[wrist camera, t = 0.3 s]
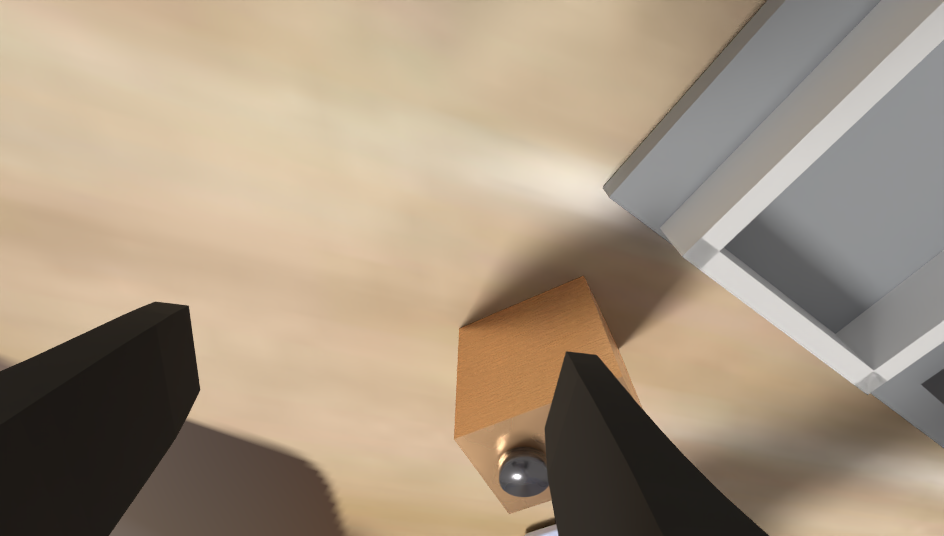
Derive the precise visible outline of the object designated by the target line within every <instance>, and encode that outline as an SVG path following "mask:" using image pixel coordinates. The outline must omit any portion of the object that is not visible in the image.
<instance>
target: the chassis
mask: <svg viewBox="0 0 944 536" xmlns="http://www.w3.org/2000/svg"><path fill="white" fill-rule="evenodd" d="M603 189H604V191H605V192H606V194H607V195H608V197H609V198H610V199H612V200H613V201H614V202H616V203H617V204H618V205H620V206H621V207H622V208H624V209H625V210H626V211H628V212H629V213H630V214H632V215H633V216H634V217H636V218H637V219H638V220H640V221H641V222H642V223H644V224H645V225H646V226H648V227H649V228H650V229H652V230H653V231H654V232H656V233H657V234H658V235H660V236H661V237H662V238H664V239H665V240H666V241H668V242H669V243H670V244H672V245H673V246H674V247H675V248H676V250H677V251H678V252H679V253H680V255H681V256H682V257H683V258H685V259H686V260H687V261H689V262H690V263H691V264H693V265H694V266H695V267H697V268H698V269H699V270H701V271H702V272H703V273H705V274H706V275H707V276H709V277H710V278H711V279H713V280H714V281H715V282H717V283H718V284H719V285H721V286H722V287H723V288H725V289H726V290H727V291H729V292H730V293H732V294H733V295H734V296H736V297H737V298H738V299H740V300H741V301H742V302H744V303H745V304H746V305H748V306H749V307H750V308H752V309H753V310H754V311H756V312H757V313H758V314H760V315H761V316H762V317H764V318H765V319H766V320H768V321H769V322H770V323H772V324H773V325H774V326H776V327H777V328H778V329H780V330H781V331H782V332H784V333H785V334H786V335H788V336H789V337H791V338H792V339H793V340H795V341H796V342H797V343H799V344H800V345H801V346H803V347H804V348H805V349H807V350H808V351H809V352H811V353H812V354H813V355H815V356H816V357H817V358H819V359H820V360H821V361H823V362H824V363H825V364H827V365H828V366H829V367H831V368H832V369H833V370H835V371H836V372H837V373H839V374H840V375H841V376H843V377H844V378H846V379H847V380H848V381H850V382H851V383H852V384H854V385H855V386H856V387H858V388H859V389H860V390H862V391H863V392H864V393H866V394H867V395H868V394H870V393H871V394H872V395H873V396H875V397H876V398H877V399H879V400H880V401H881V402H883V403H884V404H885V405H887V406H888V407H889V408H891V409H892V410H893V411H895V412H896V413H897V414H899V415H900V416H901V417H903V418H904V419H905V420H907V421H908V422H909V423H911V424H912V425H913V426H915V427H916V428H917V429H919V430H920V431H921V432H923V433H924V434H926V435H927V436H928V437H930V438H931V439H932V440H934V441H935V442H936V443H938V444H939V445H940V446H942V447H943V448H944V0H767V1H766V3H765V4H764V5H763V6H762V7H761V8H760V9H759V11H758V12H757V13H756V14H755V15H754V16H753V17H752V18H751V20H750V21H749V22H748V23H747V24H746V25H745V26H744V28H743V29H742V30H741V31H740V32H739V33H738V34H737V35H736V37H735V38H734V39H733V40H732V41H731V42H730V43H729V45H728V46H727V47H726V48H725V49H724V50H723V51H722V53H721V54H720V55H719V56H718V57H717V58H716V59H715V60H714V62H713V63H712V64H711V65H710V66H709V67H708V68H707V70H706V71H705V72H704V73H703V74H702V75H701V76H700V78H699V79H698V80H697V81H696V82H695V83H694V84H693V85H692V87H691V88H690V89H689V90H688V91H687V92H686V93H685V95H684V96H683V97H682V98H681V99H680V100H679V101H678V102H677V104H676V105H675V106H674V107H673V108H672V109H671V110H670V112H669V113H668V114H667V115H666V116H665V117H664V118H663V120H662V121H661V122H660V123H659V124H658V125H657V126H656V127H655V129H654V130H653V131H652V132H651V133H650V134H649V135H648V137H647V138H646V139H645V140H644V141H643V142H642V143H641V145H640V146H639V147H638V148H637V149H636V150H635V151H634V152H633V154H632V155H631V156H630V157H629V158H628V159H627V160H626V162H625V163H624V164H623V165H622V166H621V167H620V168H619V169H618V171H617V172H616V173H615V174H614V175H613V176H612V177H611V179H610V180H609V181H608V182H607V183H606V184H605V185H604V187H603Z"/></svg>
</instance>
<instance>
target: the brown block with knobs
mask: <svg viewBox="0 0 944 536" xmlns="http://www.w3.org/2000/svg"><path fill="white" fill-rule="evenodd" d="M566 351H569V352H577V353H586V354H594V355H597V356H598V357H599V358H600V359H601V360H602V361H603V363H604V364H605V365H606V366H607V367H608V369H609V370H610V371H611V372H612V373H613V375H614V376H615V377H616V378H617V379H618V381H619V382H620V383H621V384H622V385H623V387H624V388H625V389H626V390H627V391H628V393H629V394H630V395H631V396H632V397H633V399H634V400H635V401H636V402H637V403H638V404H639V406H640V407H641V408H642V406H641V404H640V401H639V399H638V396H637V394H636V391H635V389H634V386H633V384H632V381H631V379H630V376H629V374H628V371H627V369H626V366H625V364H624V362H623V359H622V357H621V354H620V352H619V349H618V347H617V345H616V343H615V341H614V338H613V336H612V334H611V332H610V330H609V328H608V326H607V324H606V322H605V319H604V317H603V315H602V313H601V311H600V309H599V307H598V305H597V302H596V300H595V298H594V296H593V294H592V292H591V290H590V288H589V286H588V283H587V281H586V279H585V277H584V276H582V277H579V278H577V279H574V280H572V281H570V282H567V283H565V284H563V285H560V286H558V287H556V288H553V289H551V290H549V291H546V292H544V293H542V294H539V295H537V296H535V297H532V298H530V299H527V300H525V301H523V302H520V303H518V304H516V305H513V306H511V307H509V308H506V309H504V310H502V311H499V312H497V313H495V314H492V315H490V316H487V317H485V318H483V319H480V320H478V321H476V322H473V323H471V324H469V325H466V326H464V327H462V328H459V345H458V367H457V388H456V410H455V431H454V440H455V441H456V442H457V444H458V445H459V446H460V448H461V449H462V451H463V452H464V453H465V455H466V456H467V457H468V459H469V460H470V461H471V463H472V464H473V466H474V467H475V468H476V470H477V471H478V472H479V474H480V475H481V476H482V478H483V479H484V480H485V482H486V483H487V485H488V486H489V487H490V489H491V490H492V491H493V493H494V494H495V495H496V497H497V498H498V500H499V501H500V502H501V504H502V505H503V506H504V508H505V509H506V510H507V512H508V513H509V514H511V513H514V512H517V511H520V510H523V509H526V508H529V507H532V506H535V505H538V504H541V503H544V502H547V501H550V500H552V499H551V493H550V488H549V482H548V476H547V462H546V447H545V429H544V428H545V425H546V421H547V417H548V414H549V410H550V407H551V403H552V400H553V396H554V392H555V389H556V385H557V382H558V378H559V374H560V371H561V367H562V364H563V360H564V357H565V353H566Z"/></svg>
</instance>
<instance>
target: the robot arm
mask: <svg viewBox="0 0 944 536" xmlns="http://www.w3.org/2000/svg"><path fill="white" fill-rule="evenodd" d="M199 391H200V385H199V377H198V370H197V363H196V356H195V348H194V341H193V334H192V327H191V319H190V312H189V306H187V305H178V304H170V303H162V302H153V303H151V304H148V305H146V306H143V307H141V308H138V309H136V310H134V311H131V312H129V313H127V314H125V315H122V316H120V317H118V318H116V319H114V320H112V321H109V322H107V323H105V324H103V325H101V326H99V327H97V328H94V329H92V330H90V331H88V332H86V333H84V334H82V335H80V336H77V337H75V338H73V339H71V340H69V341H67V342H64V343H62V344H60V345H58V346H56V347H54V348H52V349H49V350H47V351H45V352H43V353H41V354H39V355H37V356H34V357H32V358H30V359H28V360H26V361H23V362H21V363H19V364H16V365H14V366H12V367H9V368H7V369H5V370H2V371H0V536H109V535H110V533H111V532H112V530H113V529H114V527H115V526H116V525H117V523H118V522H119V520H120V519H121V517H122V516H123V514H124V513H125V512H126V510H127V509H128V507H129V506H130V504H131V503H132V502H133V500H134V499H135V497H136V496H137V494H138V493H139V491H140V490H141V489H142V487H143V486H144V484H145V483H146V481H147V480H148V478H149V477H150V476H151V474H152V472H153V471H154V470H155V468H156V467H157V465H158V464H159V462H160V461H161V459H162V458H163V456H164V455H165V453H166V452H167V451H168V449H169V448H170V446H171V445H172V443H173V441H174V440H175V439H176V437H177V435H178V433H179V431H180V429H181V427H182V425H183V424H184V422H185V420H186V418H187V416H188V414H189V412H190V410H191V408H192V406H193V404H194V402H195V400H196V398H197V396H198V394H199ZM544 429H545V447H546V462H547V476H548V482H549V488H550V493H551V499H552V504H553V510H554V515H555V520H556V524H554V525H551V526H548V527H545V528H542V529H538V530H535V531H532V532H529V533H527V534H526V535H525V536H769V535H768V534H766V533H765V532H764V531H763V530H762V529H761V528H760V527H759V526H757V525H756V524H755V523H754V522H753V521H752V520H751V519H750V518H749V517H747V516H746V515H745V514H744V513H743V512H742V511H741V510H740V509H739V508H737V507H736V506H735V505H734V504H733V503H732V502H731V501H730V500H729V499H727V498H726V497H725V496H724V495H723V494H722V493H721V492H720V491H719V490H718V489H717V488H716V487H715V486H714V485H713V484H712V483H711V482H710V481H709V480H708V479H707V478H706V477H705V476H704V475H703V474H702V473H701V472H700V471H699V470H698V469H697V468H696V467H695V466H694V465H693V464H692V463H691V462H690V461H689V460H688V459H687V458H686V457H685V456H684V455H683V454H682V453H681V452H680V450H679V449H678V448H677V447H676V446H675V445H674V444H673V443H672V442H671V441H670V440H669V439H668V437H667V436H666V435H665V434H664V433H663V432H662V431H661V430H660V429H659V427H658V426H657V425H656V424H655V423H654V422H653V421H652V420H651V418H650V417H649V416H648V415H647V414H646V413H645V411H644V410H643V409H642V408H641V407H640V406H639V404H638V403H637V402H636V401H635V400H634V399H633V397H632V396H631V395H630V394H629V393H628V391H627V390H626V389H625V388H624V387H623V385H622V384H621V383H620V382H619V381H618V379H617V378H616V377H615V376H614V375H613V373H612V372H611V371H610V370H609V369H608V367H607V366H606V365H605V364H604V363H603V361H602V360H601V359H600V358H599V357H598V356H597V355H594V354H586V353H577V352H569V351H566V353H565V357H564V360H563V364H562V367H561V371H560V374H559V378H558V382H557V385H556V389H555V392H554V396H553V400H552V403H551V407H550V410H549V414H548V417H547V421H546V425H545V428H544Z"/></svg>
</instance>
